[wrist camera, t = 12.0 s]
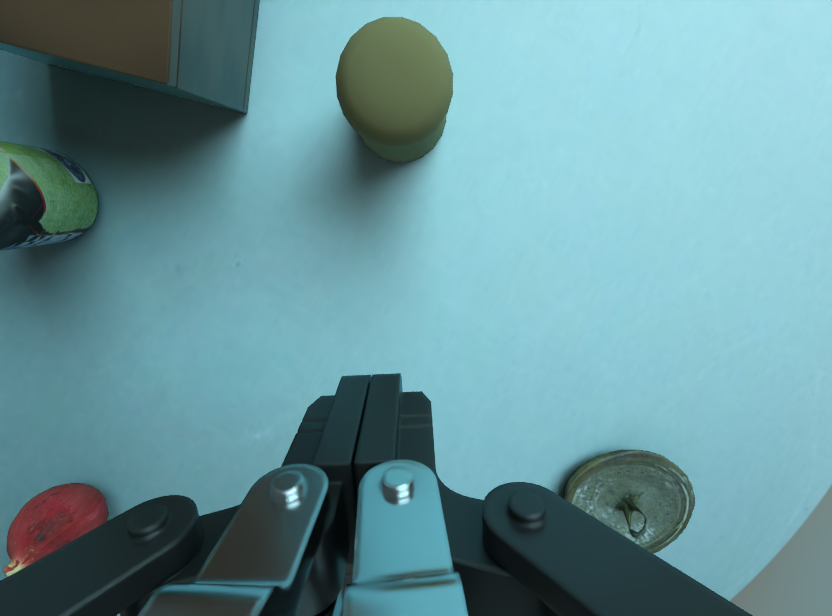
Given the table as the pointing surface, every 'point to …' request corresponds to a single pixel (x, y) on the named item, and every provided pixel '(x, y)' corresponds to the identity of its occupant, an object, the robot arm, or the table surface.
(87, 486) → the onion
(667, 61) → the table surface
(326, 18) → the table surface
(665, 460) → the lid
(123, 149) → the table surface
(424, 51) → the cork
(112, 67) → the cabinet
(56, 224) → the beverage can
